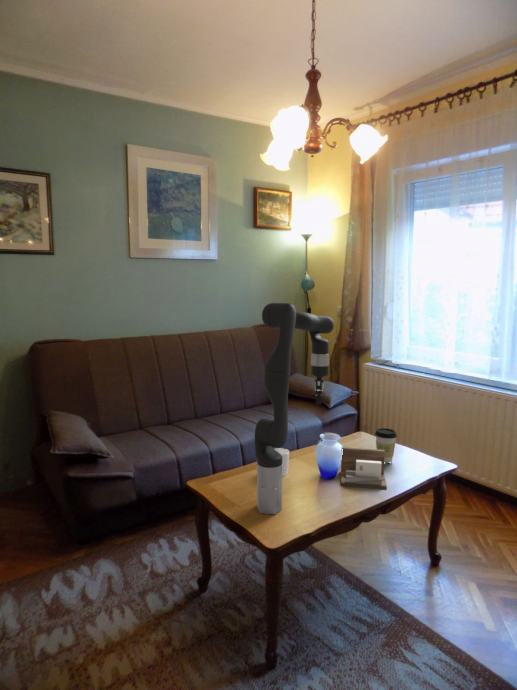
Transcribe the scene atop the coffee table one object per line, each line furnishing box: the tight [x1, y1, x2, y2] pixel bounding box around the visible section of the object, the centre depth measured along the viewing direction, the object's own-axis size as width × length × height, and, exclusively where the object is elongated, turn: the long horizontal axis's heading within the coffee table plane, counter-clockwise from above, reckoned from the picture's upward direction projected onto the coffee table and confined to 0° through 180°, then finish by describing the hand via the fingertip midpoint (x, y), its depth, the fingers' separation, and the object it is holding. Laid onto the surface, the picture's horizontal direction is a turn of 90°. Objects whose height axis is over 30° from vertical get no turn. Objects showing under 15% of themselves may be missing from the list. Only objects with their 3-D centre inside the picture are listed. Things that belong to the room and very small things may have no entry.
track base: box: [340, 446, 388, 490], centre depth 187 cm, size 14×18×11 cm
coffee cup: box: [374, 427, 398, 463], centre depth 206 cm, size 10×10×15 cm
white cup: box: [274, 447, 290, 477], centre depth 193 cm, size 8×8×10 cm
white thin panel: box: [356, 460, 382, 478], centre depth 184 cm, size 2×10×8 cm, turn 81°
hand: (319, 401), depth 189 cm, fingers open, 8 cm apart
